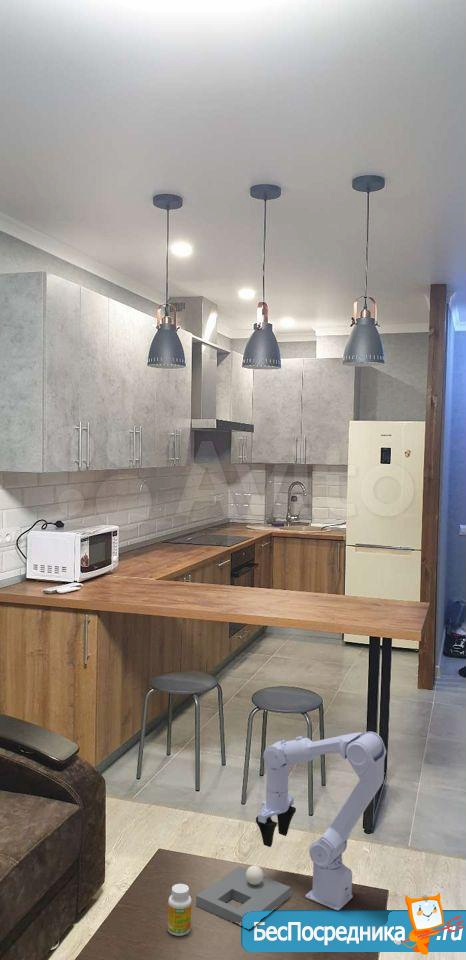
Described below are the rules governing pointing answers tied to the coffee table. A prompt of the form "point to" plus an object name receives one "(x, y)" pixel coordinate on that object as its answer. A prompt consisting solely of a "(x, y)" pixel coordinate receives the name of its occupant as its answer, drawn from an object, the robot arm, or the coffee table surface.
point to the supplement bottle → (179, 910)
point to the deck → (241, 895)
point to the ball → (254, 875)
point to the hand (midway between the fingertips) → (275, 839)
